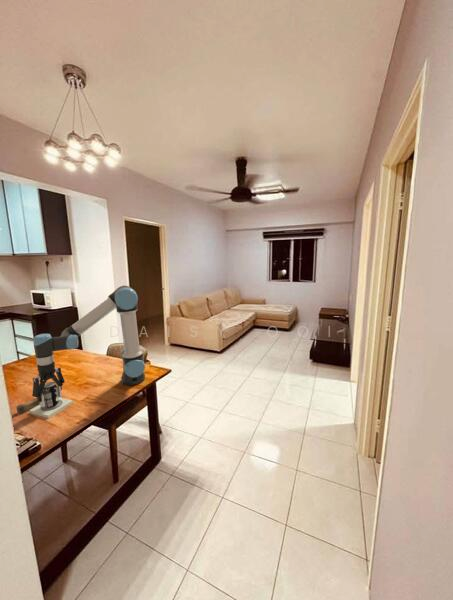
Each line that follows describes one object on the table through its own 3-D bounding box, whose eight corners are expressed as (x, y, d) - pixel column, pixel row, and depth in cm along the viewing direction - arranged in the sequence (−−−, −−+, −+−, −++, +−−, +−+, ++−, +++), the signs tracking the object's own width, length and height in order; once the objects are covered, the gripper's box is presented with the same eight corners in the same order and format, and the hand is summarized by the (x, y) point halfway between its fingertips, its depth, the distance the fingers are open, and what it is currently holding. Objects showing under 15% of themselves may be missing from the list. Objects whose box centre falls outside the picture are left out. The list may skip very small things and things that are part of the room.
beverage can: (56, 399, 141) (53, 380, 139) (60, 404, 137) (57, 384, 135) (42, 405, 136) (39, 385, 134) (46, 409, 132) (43, 389, 130)
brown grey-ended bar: (48, 398, 146) (47, 392, 145) (51, 399, 144) (50, 393, 143) (17, 412, 133) (16, 405, 132) (20, 414, 131) (18, 407, 130)
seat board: (73, 403, 141) (72, 400, 141) (48, 418, 128) (48, 415, 128) (55, 398, 145) (54, 395, 145) (29, 413, 132) (29, 409, 132)
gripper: (59, 354, 143) (64, 390, 147) (18, 370, 123) (25, 411, 127) (69, 356, 141) (73, 392, 145) (29, 373, 121) (35, 414, 125)
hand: (51, 401), depth 136 cm, fingers open, 9 cm apart
